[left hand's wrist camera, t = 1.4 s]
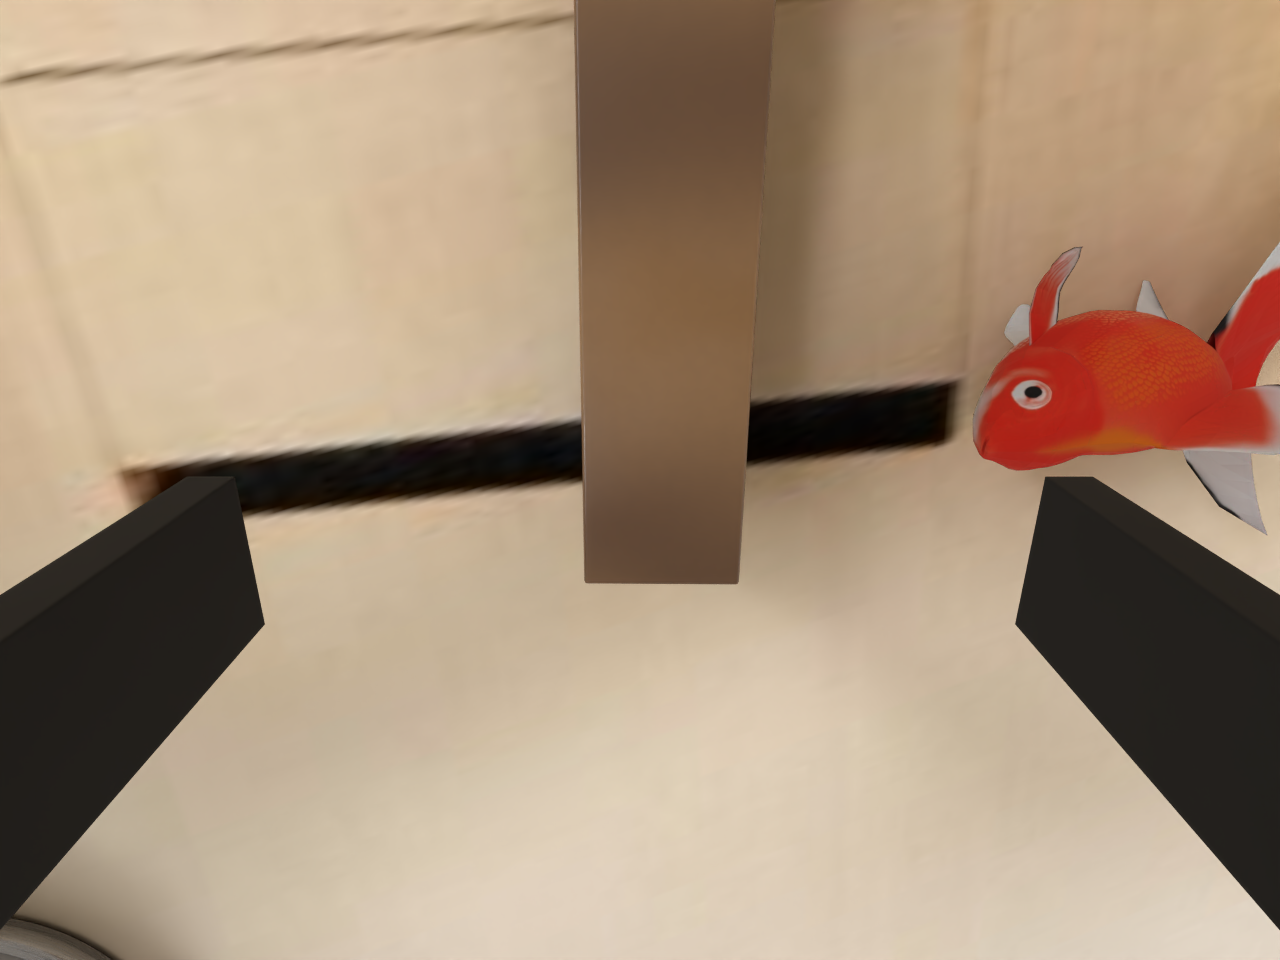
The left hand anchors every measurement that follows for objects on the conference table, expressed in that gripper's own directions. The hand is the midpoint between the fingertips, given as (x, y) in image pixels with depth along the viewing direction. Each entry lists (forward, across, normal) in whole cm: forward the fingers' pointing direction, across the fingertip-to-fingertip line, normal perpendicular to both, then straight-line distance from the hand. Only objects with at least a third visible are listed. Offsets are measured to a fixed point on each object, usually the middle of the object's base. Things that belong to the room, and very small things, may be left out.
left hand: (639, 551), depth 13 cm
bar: (+16, -1, -7) cm, 18 cm away
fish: (+16, -18, -1) cm, 24 cm away
